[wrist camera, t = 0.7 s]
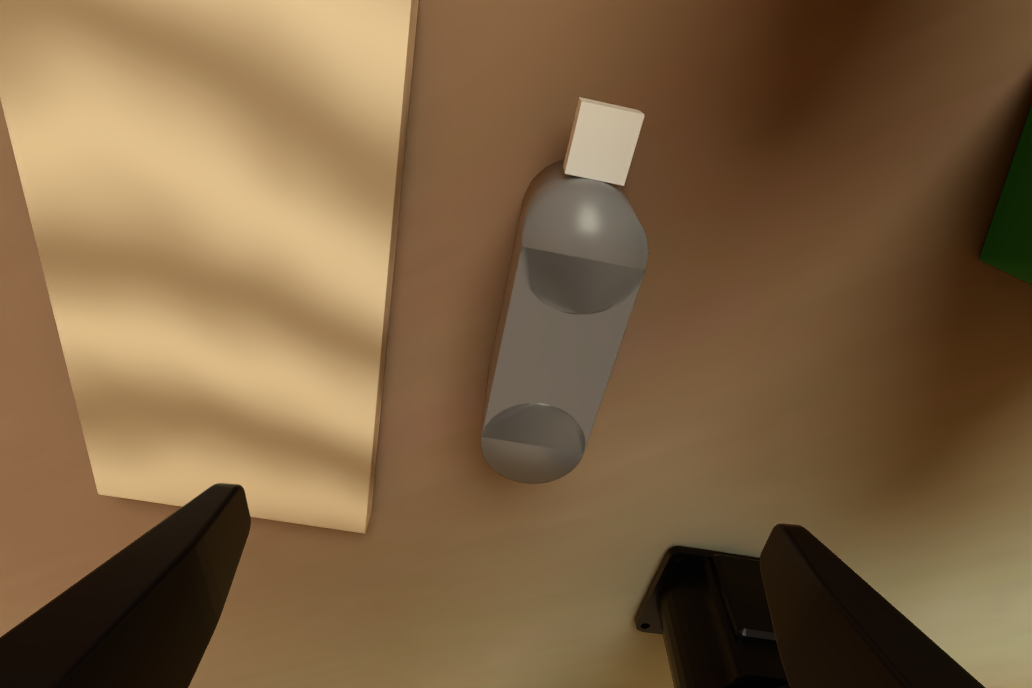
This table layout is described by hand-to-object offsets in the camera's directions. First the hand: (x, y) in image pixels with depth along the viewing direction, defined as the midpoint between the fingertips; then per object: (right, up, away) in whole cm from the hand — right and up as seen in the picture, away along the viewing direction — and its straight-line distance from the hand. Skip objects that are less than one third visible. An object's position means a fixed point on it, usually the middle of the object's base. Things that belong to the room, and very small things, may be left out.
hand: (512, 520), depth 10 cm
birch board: (-11, +5, +12) cm, 17 cm away
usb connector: (+1, +5, +12) cm, 13 cm away
